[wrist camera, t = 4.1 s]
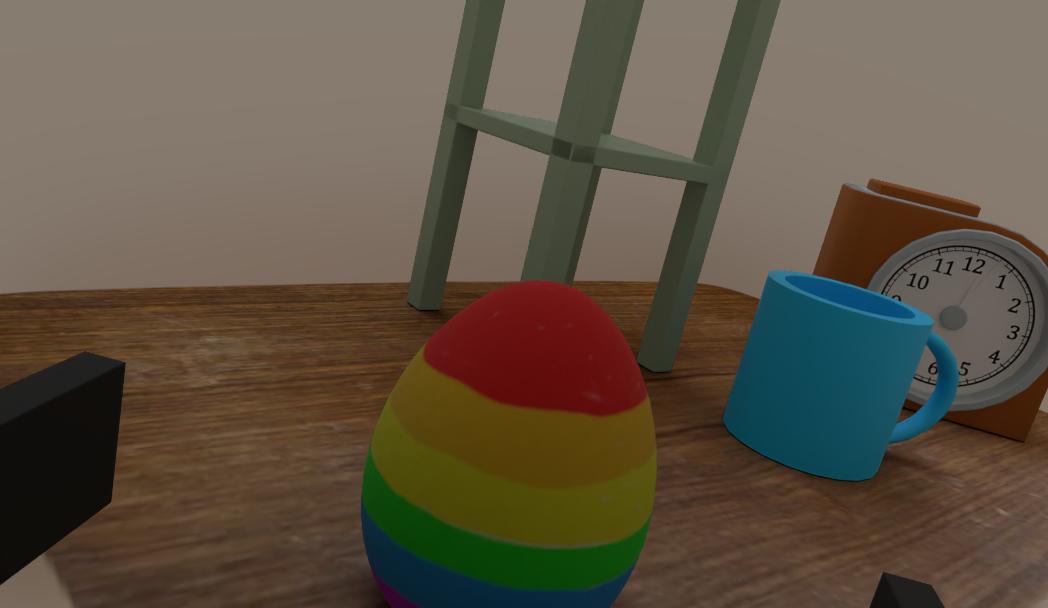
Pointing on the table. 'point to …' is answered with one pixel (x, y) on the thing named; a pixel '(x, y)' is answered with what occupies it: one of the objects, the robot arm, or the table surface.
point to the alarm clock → (952, 295)
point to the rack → (590, 156)
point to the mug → (833, 376)
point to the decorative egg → (513, 459)
